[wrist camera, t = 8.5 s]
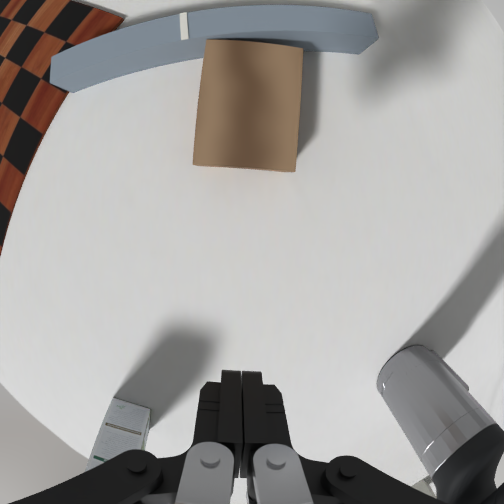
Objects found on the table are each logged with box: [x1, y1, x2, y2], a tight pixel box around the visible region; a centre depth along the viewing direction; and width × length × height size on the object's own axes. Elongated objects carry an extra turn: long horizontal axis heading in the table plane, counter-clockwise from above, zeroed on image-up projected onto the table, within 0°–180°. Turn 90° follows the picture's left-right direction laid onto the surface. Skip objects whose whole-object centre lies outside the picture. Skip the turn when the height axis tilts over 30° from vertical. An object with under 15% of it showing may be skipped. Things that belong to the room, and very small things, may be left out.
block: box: [193, 39, 303, 172], centre depth 22 cm, size 8×11×4 cm
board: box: [50, 5, 379, 93], centre depth 20 cm, size 30×3×5 cm, turn 97°
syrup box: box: [85, 398, 151, 472], centre depth 26 cm, size 6×6×14 cm
